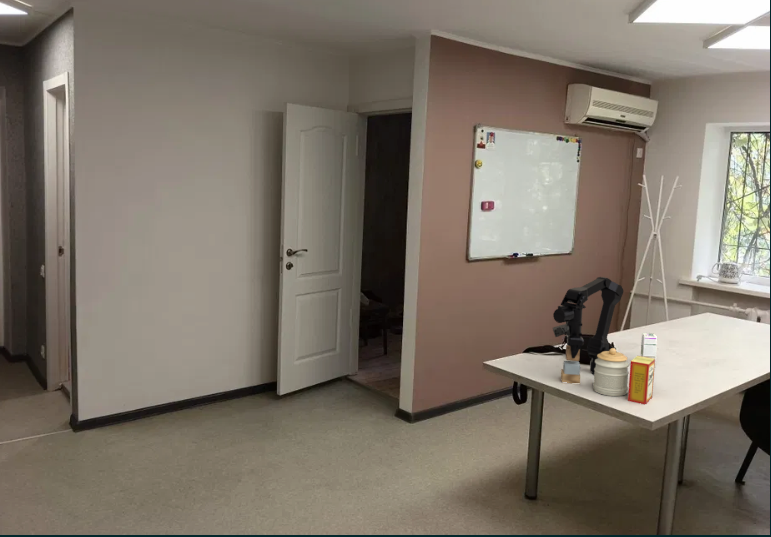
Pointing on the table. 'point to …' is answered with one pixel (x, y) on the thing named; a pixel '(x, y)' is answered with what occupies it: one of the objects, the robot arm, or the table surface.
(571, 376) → the oak block
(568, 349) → the walnut cube
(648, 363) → the baking soda box
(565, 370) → the grey block
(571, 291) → the robot arm
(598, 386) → the jar
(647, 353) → the syrup box
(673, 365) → the table surface
